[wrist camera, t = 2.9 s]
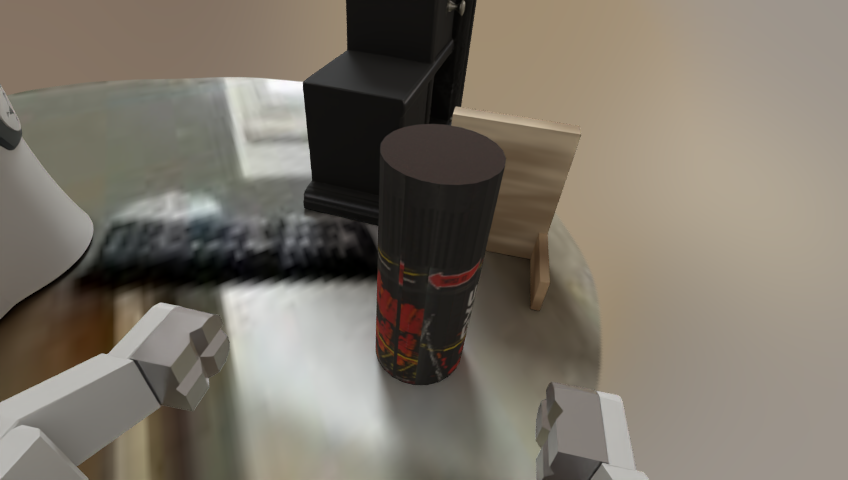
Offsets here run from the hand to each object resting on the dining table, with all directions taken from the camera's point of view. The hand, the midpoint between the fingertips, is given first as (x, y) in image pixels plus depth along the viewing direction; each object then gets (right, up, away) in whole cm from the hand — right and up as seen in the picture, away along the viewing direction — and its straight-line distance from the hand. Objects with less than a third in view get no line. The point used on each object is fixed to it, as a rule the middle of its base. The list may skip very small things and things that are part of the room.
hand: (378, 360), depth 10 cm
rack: (+6, +1, +26) cm, 27 cm away
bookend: (-2, +11, +39) cm, 40 cm away
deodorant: (+1, -5, +19) cm, 20 cm away
